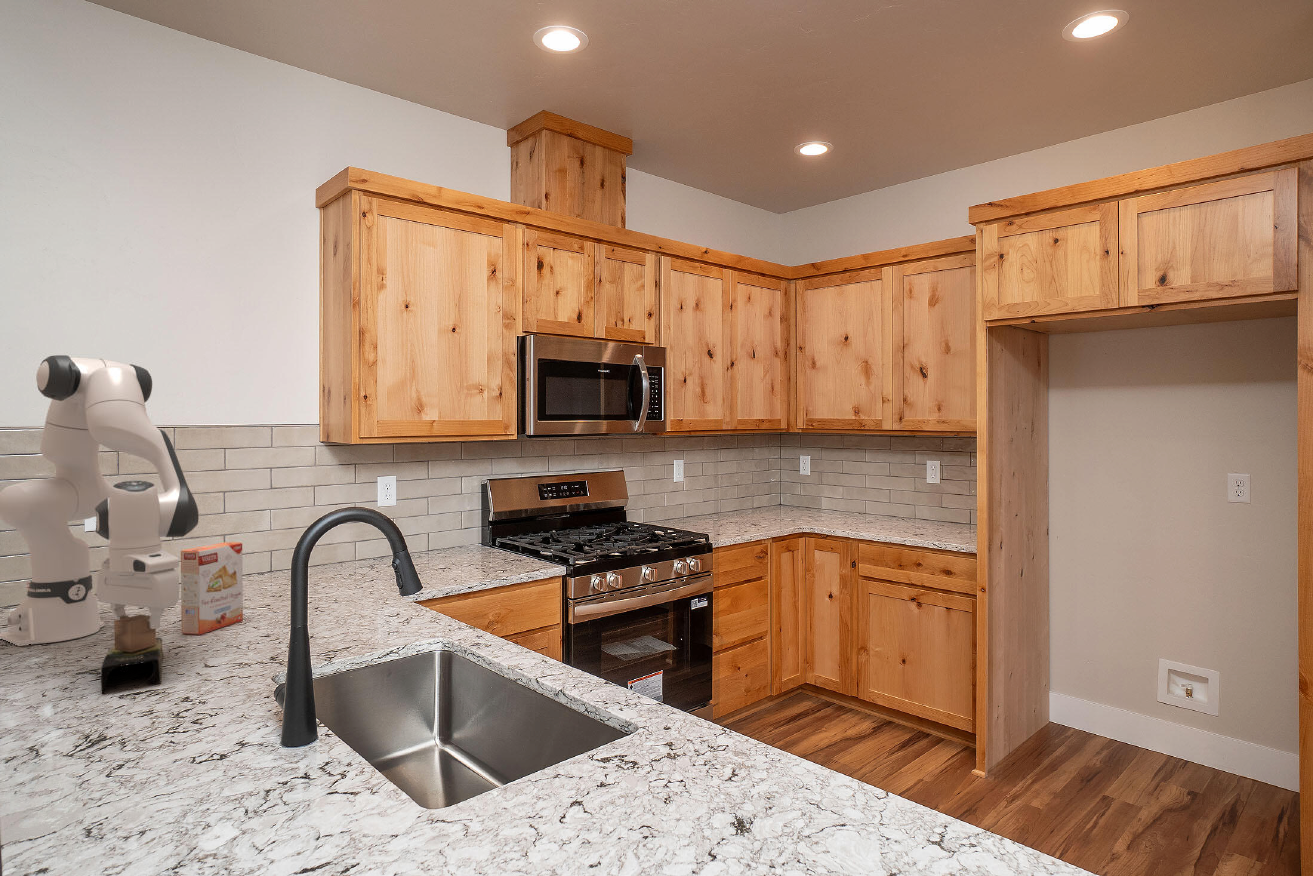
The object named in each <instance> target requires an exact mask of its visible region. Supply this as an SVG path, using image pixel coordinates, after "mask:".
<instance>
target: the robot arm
mask: <svg viewBox="0 0 1313 876" xmlns="http://www.w3.org/2000/svg"><path fill="white" fill-rule="evenodd" d="M35 377H36V385H37V389H38V392H39V393H41V394H42V395H43V397H45V398H48V399H50V400H51V401H50V404H49V407H48V410H47V412H46V417H45V418H46V419H45V423H44V427H43V430H42V431H43V432H42V436H41V437H42V438H41V443H40V447H39V450H40V453H41V455H42V456H43V457H44V458H45V459H46V460H47V461H49V462H50V463H53V464H54V466H55V470H56V471H55V474H56V475H55V477H54V478H45V479H42V478H41V479H32V480H27V481H22V482H18V483H14V484H11V485H8V486H6V487H4V488H3V489H2V490H0V519H1V520H2V521H3V522H4V523H5V524H8V525H9V526H12V527H13V528H14V529H16V530H17V531H18V532H19V534H20V535H21V536H22V538H24V541H25V542H26V544H27V546H28V547H27V548H28V551H29V556H30V567H31V581H30V582H28V583H26V588H27V594H26V597H27V598H25V599H24V600H23V601H22V602H21V603H20V604H19V605H18V606H17V607H16V608H15V609H13V610H12V611H11V613H10V615H9V616H8V617H7V625H8V626H9V630H4V631H2V632H0V638H1V639H3V640H6V641H8V642H10V643H9V644H11V643H13V644H12V645H14V644H15V645H14V646H16V645H17V647H23V646H30V645H29V644H31V645H37V644H38V645H39V644H47V643H56V642H63V641H70V640H74V639H79V638H83V637H86V636H90V635H93V634H95V633H97V632H99V631H100V630H101V628H103V627H104V626H106V624H105V621H102V620H101V617H100V610H99V603H103V604H110V609H111V612H112V613H113V615H114V619H115V620H119V619H123V618H127V617H130V615H128V614H127V612H126V610H125V607H126V606H129V607H130V606H131V607H140V608H148V610H149V613H150V615H149V616H150V619H149V620H146V624H147V628H149V629H155V628H156V629H158V628H160V627H161V618H162V616H163V613H164V611H165V609H167V608H170V607H175V606H176V605H177V604H178V602H179V599H180V577H179V573H178V570H176V568H177V569H178V568H179V566H180V559H179V558H178V557H177V556H175V555H174V554H171V553H170V552H168V551H167V550H165V548H162V540H161V538H164V537H165V538H182V537H185V536H186V535H188V534H189V533H191V532H192V531H193V530H194V529H195V528H196V527H197V526H198V524H199V520H200V519H199V517H200V512H199V507H198V504H197V502H196V499H195V497H194V495H193V493H192V492H191V490H190V487H189V485H188V483H187V481H186V477H185V475H184V472H183V470H182V467H181V464H180V460H179V459H178V456H177V454H176V451H175V448H174V447H173V444H172V442H171V439H170V437H169V435H168V434H167V432H166V431H165V430H163V429H161V428H158V427H157V426H156V425H154V423H153V422H152V421H151V420H150V418H149V416H148V414H147V409H146V402H148V400H149V399H150V397H151V395H152V391H153V390H152V389H153V378H152V376H151V374H150V373H149V371H148V370H147V369H146V368H144V367H142V366H138V365H136V364H132V363H131V364H126V363H123V362H119V361H114V360H109V359H104V358H99V359H97V358H91V357H90V358H89V357H79V356H78V357H77V356H69V355H65V354H64V355H62V354H61V355H60V354H59V355H49V356H47V357H46V358H44V359H43V360H42V362H41V363H40V365H39V367H38V369H37V372H36V376H35ZM100 445H101V446H103V447H104V448H106V449H110V450H112V451H114V452H120V453H124V454H129V455H131V456H132V455H133V456H136V457H139V458H142V459H143V460H147V461H148V462H149V463H151V464H153V465H154V466H155V468H156V470H157V471H156V472H157V473H158V476H159V479H160V482H161V484H162V488H163V491H164V492H162V493H158V488H157V485H156V484H155V483H153V482H150V481H147V480H146V481H144V480H127V481H126V480H124V481H121V482H117V483H114V484H113V485H112V484H111V483H110V481H108V480H107V479H106V478H105V477H104V475H103V474H102V472H101V470H100V464H99V451H100ZM94 517H95V518H96V519H95V520H96V522H95V526H96V527H95V533H96V534H97V535H99V536H100V537H101V538H104V539H106V540H107V541H109V545H108V557H107V558H105V560H104V561H103V562H102V563H101V567H100V570H99V571H98V574H97V580H96V594H94V593H93V592H92V590H93V589H94V587H93V584H94V582H93V581H94V580H93V575H91V574H90V573H91V569H90V568H91V567H90V547H89V545H88V543H87V542H86V541H84V540H83V539H81V538H78V537H76V536H74V534H73V533H72V532H71V530H70V526H69V522H73V521H75V522H76V521H81V520H89V519H92V518H94ZM27 585H29V586H27ZM115 620H114V621H115ZM3 640H2V641H3ZM6 641H5V642H6ZM8 642H7V643H8Z"/></svg>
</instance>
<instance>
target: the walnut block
mask: <svg viewBox="0 0 1313 876" xmlns="http://www.w3.org/2000/svg"><path fill="white" fill-rule="evenodd" d="M150 616H151V615H147V614H145V615H144V614H137V615H133V616H129V617H127V618H123V619H119V620H113V626H114V627H113V629H114V630H113V631H114V644H115V650H119V651H126V652H134V651H137V650H141V649H144V648H148V647H151V646H155V645H156V638H157V634H156V632H157V631H156V630H157V628H155V629H149V628H147V624H146V620H149V619H150Z"/></svg>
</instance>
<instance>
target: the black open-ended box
mask: <svg viewBox="0 0 1313 876" xmlns="http://www.w3.org/2000/svg"><path fill="white" fill-rule="evenodd" d="M163 651H164V649H163V639H162V638H161V637H156V645H155V646H151V647H148V648H144V649H141V650H137V651H134V652H126V651H119V650H115V643H113V644H111V645H110V646H109V648H108V650H107V653H106V654H105V656H104V658H103V662H102V664H101V670H100V692H101V695H102V694H104V695H105V687H106V683H107V680H108V677H109V674H110V673H111V672H112V671H113V670H114V669H116V668H118V667H119V666H120V667H122V666H121V665H126V664H132V665H140V664H141V662H145V663H152V665H153V670H152V674H151V676H150V677H149V678H148V679H147V680H146V685H158V684H157V683H160V682H161V681H162V675H161V674H162V673H163V659H164V654H165V653H164V652H163ZM150 661H151V662H150ZM135 663H137V664H135ZM126 666H127V665H126ZM120 667H119V668H120ZM107 676H108V677H107ZM106 679H107V680H106Z"/></svg>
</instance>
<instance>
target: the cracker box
mask: <svg viewBox="0 0 1313 876" xmlns="http://www.w3.org/2000/svg"><path fill="white" fill-rule="evenodd" d="M243 585H244V583H243V542H238V541H237V542H235V541H234V542H233V541H231V542H227V541H226V542H219V543H214V544H208V545H202V546H198V547H193V548H187V549H186V548H185V549H182V550H180V592H181V593H180V600H181V601H180V604H181V606H180V607H181V610H180V612H181V613H180V615H181V623H180V624H181V634H183V635H184V634H185V635H186V634H187V635H199V636H201V635H203V634H206V633H209V632H212V631H215V630H218V629H221V628H224V627H228V626H230V625H233V624H236V623H239V622H243V619H244V616H243V615H244V612H243V611H244V610H243V608H244V607H243V603H244V601H243V598H244V596H243V595H244V593H243Z"/></svg>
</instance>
